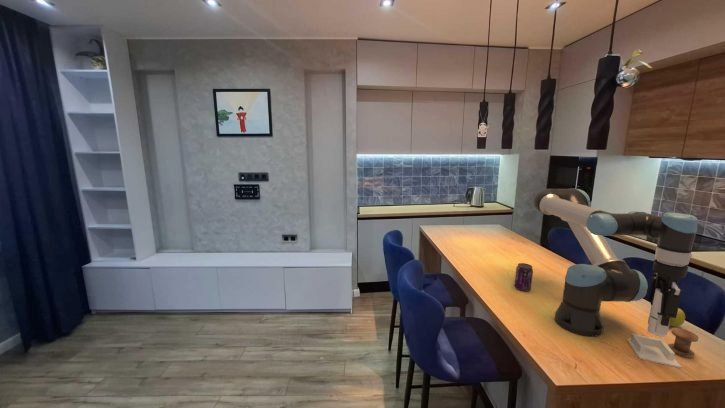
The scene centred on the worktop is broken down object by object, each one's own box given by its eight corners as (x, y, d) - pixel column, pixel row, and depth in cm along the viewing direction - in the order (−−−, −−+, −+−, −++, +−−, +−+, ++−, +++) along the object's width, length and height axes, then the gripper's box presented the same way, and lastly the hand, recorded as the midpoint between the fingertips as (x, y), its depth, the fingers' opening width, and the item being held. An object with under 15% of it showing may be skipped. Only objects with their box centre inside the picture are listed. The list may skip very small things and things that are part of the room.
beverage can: (527, 293, 138) (530, 269, 136) (511, 288, 143) (514, 265, 141) (532, 289, 143) (535, 265, 141) (517, 284, 148) (520, 261, 146)
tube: (646, 327, 100) (655, 286, 97) (664, 332, 97) (673, 290, 95) (648, 333, 97) (656, 291, 94) (666, 338, 94) (675, 295, 91)
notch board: (639, 358, 96) (641, 350, 95) (627, 340, 105) (628, 332, 104) (681, 368, 91) (683, 359, 91) (664, 348, 101) (666, 340, 100)
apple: (690, 332, 110) (695, 312, 108) (662, 329, 111) (666, 310, 110) (672, 320, 117) (676, 302, 116) (646, 318, 119) (650, 299, 117)
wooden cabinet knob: (673, 354, 97) (677, 336, 96) (664, 344, 103) (668, 326, 101) (698, 360, 95) (702, 341, 94) (687, 349, 100) (692, 330, 99)
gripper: (704, 274, 83) (687, 348, 87) (672, 255, 99) (659, 318, 103) (669, 270, 86) (654, 341, 91) (643, 251, 102) (631, 313, 106)
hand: (657, 328), depth 97 cm, fingers closed on tube, 4 cm apart
